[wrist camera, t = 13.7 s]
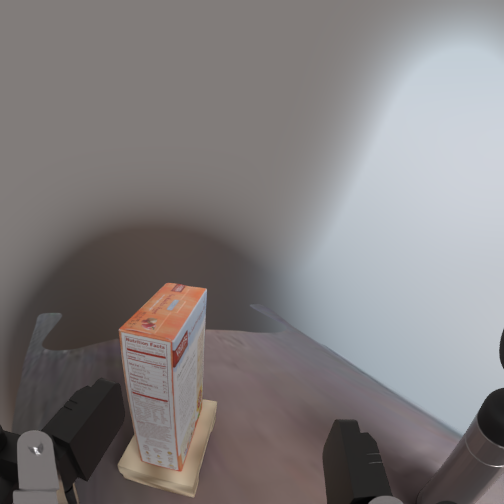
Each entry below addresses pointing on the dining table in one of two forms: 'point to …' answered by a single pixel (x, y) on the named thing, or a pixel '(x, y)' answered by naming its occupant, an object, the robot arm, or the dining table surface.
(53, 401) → the dining table surface
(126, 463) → the birch stand
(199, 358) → the cracker box
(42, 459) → the robot arm
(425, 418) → the dining table surface
